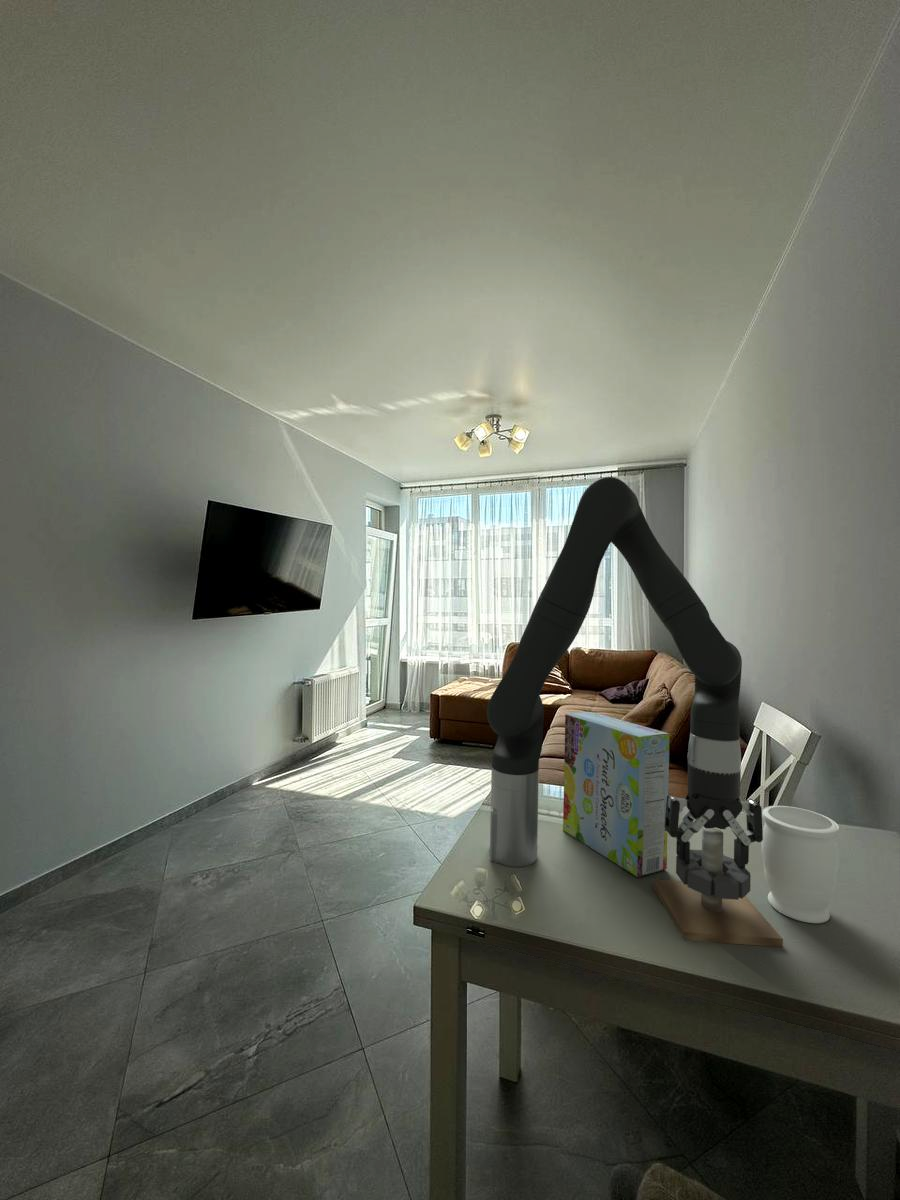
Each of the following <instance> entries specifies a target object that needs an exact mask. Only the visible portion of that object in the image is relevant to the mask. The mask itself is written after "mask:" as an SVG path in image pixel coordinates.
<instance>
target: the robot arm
mask: <svg viewBox="0 0 900 1200" xmlns="http://www.w3.org/2000/svg"><path fill="white" fill-rule="evenodd" d="M611 544H613V546H614V547H615V549H617V551H619V552H620V555H622V556H623V558H624V560H625V561H626V562H627V564H628V565H629V567H630V569H631V571H632V572H633V575H634V576H635V579H636V580H637V582H638V584H639V587H640V589H641V590H642V592H643V594H644V596H645V599H647V601H648V603H649V604H650V607H652V609H653V610H654V612H655V614H656V615H657V617H658V619H659V620H660V621H661V623H662V624H663V625H664V627H665V628H666V630H667V631H668V632H669V634H670V635H671V637H672V639H673V641H674V643H675V645H676V647H677V649H678V651H679V653H680V656H681V657H682V659H683V660H684V663H685V664H686V666H687V667H688V669H689V670H690V672H691V673H692V674H693V676H694V697H693V700H692V703H691V707H690V728H689V729H690V733H689V740H688V749H687V751H688V752H687V794H686V796H685V798H683V797H676V796H674V795H673V794H668V796H667V802H666V814H665V826H664V827H665V829H666V831H667V834H669V836H670V837H671V838H676V849H675V850H676V851H675V852H676V856H678V857H679V858H680V860H681V861H682V862H683V864H687V865H689V862H690V850H691V849H690V848H691V842H690V841H689V840H691V838H692V837H693V836H694V834H698V833H699V832H700V830H702V829H703V827H704V828H710V829H711V828H715V829H718V830H726V828H729V829H730V831H731V832H732V833H733V834H734V836H735V837H736V838H734V839H733V840H734V841H733V859H734V862H735V864H736V865H737V866H738V867H739V868H746V865H748V863H749V861H750V860H749V857H750V855H749V854H750V845H751V843H755V842H757V843H761V842H762V840H763V817H762V810H763V808H762V806H761V805H760V804H759V803H758V802H756V801H755V800H753V799H752V798H747V799H746V800H744V801H743V800H740V799H741V798H740V797H741V782H742V781H741V780H742V777H741V773H742V772H741V770H742V769H741V768H742V751H741V742H740V735H741V734H740V729H741V728H740V727H741V726H740V724H741V723H740V722H741V719H740V718H741V716H740V706H739V700H740V693H741V692H740V691H741V684H742V683H741V682H742V681H741V680H742V670H743V664H742V663H743V662H742V656H741V652H740V651H739V649H738V648H737V647H736V646H735V645H734V644H733V643H732V642H730V641H728V640H726V638H725V637H724V636H723V635H722V633H721V632H720V630H719V629H718V627H717V626H716V624H715V623H714V621H713V620H712V619H711V616H710V612H709V611H708V609H707V607H706V605H705V604H704V602H703V601H702V599H701V598H700V596H699V595H698V594H697V592H696V591H695V589H694V588H693V587H692V585H691V584H690V582H689V581H688V580H687V578H686V577H685V576H684V575H683V573H682V572H681V571H680V570H679V568H678V567H677V565H676V564H675V563H674V562H673V561H672V559H671V558H670V557H669V556H668V554H667V553H666V551H665V550H664V549H663V547H662V546H661V544H660V543H659V541H658V540H657V538H656V536H655V535H654V533H653V531H652V529H651V527H650V526H649V524H648V521H647V520H646V517H645V515H644V512H643V511H642V508H641V506H640V502H639V499H638V497H637V495H636V494H635V492H634V491H633V489H632V488H631V487H629V485H628V484H626V482H625V481H623V480H622V479H620V478H618V477H614V476H604V477H601V478H598V479H596V480H594V481H593V482H591V484H589V486H587V487H586V488H585V489H584V492H582V495H581V497H580V498H579V501H578V505H577V508H576V511H575V513H574V517H573V519H572V523H571V525H570V528H569V531H568V535H567V537H566V540H565V542H564V545H563V547H562V550H561V551H560V553H559V555H558V558H557V559H556V562H555V564H554V566H553V567H552V570H551V571H550V573H549V576H548V578H547V580H546V583H545V585H544V586H543V589H542V590H541V592H540V594H539V597H538V598H537V600H536V603H535V605H534V607H533V610H532V612H531V615H530V616H529V619H528V622H527V624H526V627H525V628H524V631H523V634H522V636H521V637H520V641H519V643H518V645H517V648H516V651H515V653H514V656H513V658H512V660H511V661H510V664H509V666H508V667H507V670H506V671H505V673H504V674H503V676H502V678H501V680H500V681H499V683H498V685H497V687H496V688H495V690H494V691H493V693H492V694H491V696H490V698H489V700H488V704H487V706H486V707H487V708H486V717H487V721H488V723H489V726H490V728H491V729H492V731H493V732H494V733H496V734H497V740H496V743H495V746H494V748H493V750H492V752H491V765H490V766H491V781H490V783H491V784H490V787H491V788H490V815H489V816H490V821H489V827H490V829H489V861H490V862H496V863H499V864H500V865H504V866H509V867H516V868H517V867H525V866H527V867H528V866H529V865H532V864H534V863H535V862H536V861H537V859H538V847H539V846H538V845H539V844H538V839H539V838H538V837H539V836H538V834H539V833H538V832H539V831H538V830H539V829H538V828H539V784H540V782H539V779H540V778H539V776H540V775H539V774H540V773H539V771H540V767H539V766H540V758H541V755H542V750H543V740H544V704H543V700H542V698H541V696H540V695H541V692H542V690H543V687H544V685H545V683H546V681H547V680H548V677H549V676H550V674H551V673H552V671H553V670H554V669H555V668H556V666H557V664H559V662H560V661H561V659H562V658H563V657H564V655H565V654H566V652H567V651H568V650H569V648H570V647H571V645H572V644H573V642H574V640H575V639H576V637H577V636H578V634H579V632H580V629H581V627H582V626H583V624H584V621H585V619H586V617H587V615H588V613H589V610H590V607H591V605H592V601H593V598H594V593H595V588H596V585H597V578H598V574H599V570H600V566H601V563H602V561H603V558H604V556H605V553H606V552H607V550H608V548H609V546H610V545H611ZM684 808H687V810H688V812H687V813H686V814H685V815H684V816H683V818H682V822H681V823H680V824H679V820H680V813H682V812H683V810H684ZM742 811H743V814H745V816H746V830H745V829H743V827H742V826H741V825H740V823H739V822H738V821H737V818H738V816H739V815H740V814H741V813H742Z"/></svg>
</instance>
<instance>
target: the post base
mask: <svg viewBox="0 0 900 1200" xmlns="http://www.w3.org/2000/svg"><path fill="white" fill-rule="evenodd" d="M701 830H702V831H701V832H702V834H701V837H702V838H701V850H702V866H701V868H702V869H705V870H707V871H710V872H712V873H724V872H723V855H724V832H723V831H721V829H719V828H711V829H710V828H705V827H704V828H703V827H702V828H701ZM652 887H653V890H654V891H655V893H656V895H657V896H658V898H659V900H660V902H661V903H662V905H663V907H664V908H665V910H666V912H667V914H668V915H669V917H670V919H671V921H672V923H673V924H674V926H675V927H676V929H677V931H678V933H679V935H680V936H681V938H682V940H683V941H690V942H691V941H692V942H705V943H720V944H731V945H732V944H734V945H735V944H736V945H745V946H747V945H748V946H750V945H751V946H761V947H762V946H764V947H775V948H777V947H779V948H783V947H784V946H783V945H784V938H783V937H782V936H781V935H780V933H779V932H777V930H776V929H775V928H774V927H773V926H772V925H771V923H770V922H769V921H768V920H767V918H766V917H764V915H763V914H762V913H761V912H760V911H759V910H758V908H757V907H756V906H755V905H754V904H753V903H752V901H751V900H750V899H749V898H748V897H747V895H746V896H745V897H744V898H743V899H741V898H739V900H735V899H719V898H715V897H714V896H713V895H712V896H711V897H709V896H707V895H705V894H702V893H700V892H698V891H696V890H693V889H691V888H689V887H687V885H684V884H683V882H682V881H681V880H672V879H671V880H670V879H669V880H668V879H653V878H652Z"/></svg>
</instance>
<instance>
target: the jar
mask: <svg viewBox="0 0 900 1200" xmlns="http://www.w3.org/2000/svg"><path fill="white" fill-rule="evenodd" d="M762 820H764V825H763V827H762V830H763V840H762V842H760V843H761V844H760V848H761V858H762V862H763V863H762V864H763V871H764V877H765V880H766V883H767V886H768V888H769V890H770V891H769V893H768V895H767V900H768V903H769V905H770V906H771V907H772V908H773V909H775V910H776V911H777V912H779V913H780V914H782V915H784V916H786V917H789V918H790V919H793V920H796V921H799V922H803V923H807V924H808V923H810V924H823V923H825V922H827V921H828V920H829V919H830V917H831V916H830V915H831V914H830V911H829V909H828V906H829V904H830V903H831V901H832V899H833V896H834V893H835V889H836V883H837V881H838V875H839V866H840V865H839V864H840V861H839V860H840V857H839V849H838V848H839V847H838V844H837V839H836V838H835V837H836V836H838V834H839V833H840V832H839V831H840V827H839V825H838V823H836V822H835V820H834V819H832V818H829V817H827V816H826V815H823V814H821V813H819V812H815V811H812V810H809V809H805V808H800V807H796V806H788V805H769V806H765V807H763V808H762Z"/></svg>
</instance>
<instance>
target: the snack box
mask: <svg viewBox="0 0 900 1200" xmlns="http://www.w3.org/2000/svg"><path fill="white" fill-rule="evenodd" d="M564 717H565V719H564V759H563V761H564V763H563V764H564V765H563V767H564V768H563V769H564V771H563V807H562V808H563V812H562V815H563V817H562V831H564V832H565V833H566V834H568V835H570V836H572V837H573V838H575V839H576V840H578V841H580V842H581V843H583V844H584V845H586V846H588V847H589V848H590V849H592V850H594V851H595V852H597V853H599V854H600V855H602V856H603V857H605V858H606V859H608V860H610V861H611V862H613V863H614V864H616V865H617V866H619V867H621V869H624V870H625V871H627V872H629V873H630V874H632V875H634V876H635V877H636V878H639V877H642V876H645V875H649V874H653V873H657V872H661V871H664V870H667V868H668V832H667V831H666V829H665V827H664V826H665V814H666V802H667V796H668V795H669V778H670V777H669V772H670V771H669V769H670V768H669V767H670V739H671V738H670V735H671V733H667V732H665V731H661V730H658V729H654V728H651V727H647V726H644V725H640V724H636V723H633V722H629V721H626V720H622V719H619V718H614V717H611V716H608V715H603V714H600V713H597V712H593V711H592V712H591V711H583V712H582V711H581V712H573V713H572V712H571V713H565V714H564Z"/></svg>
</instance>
